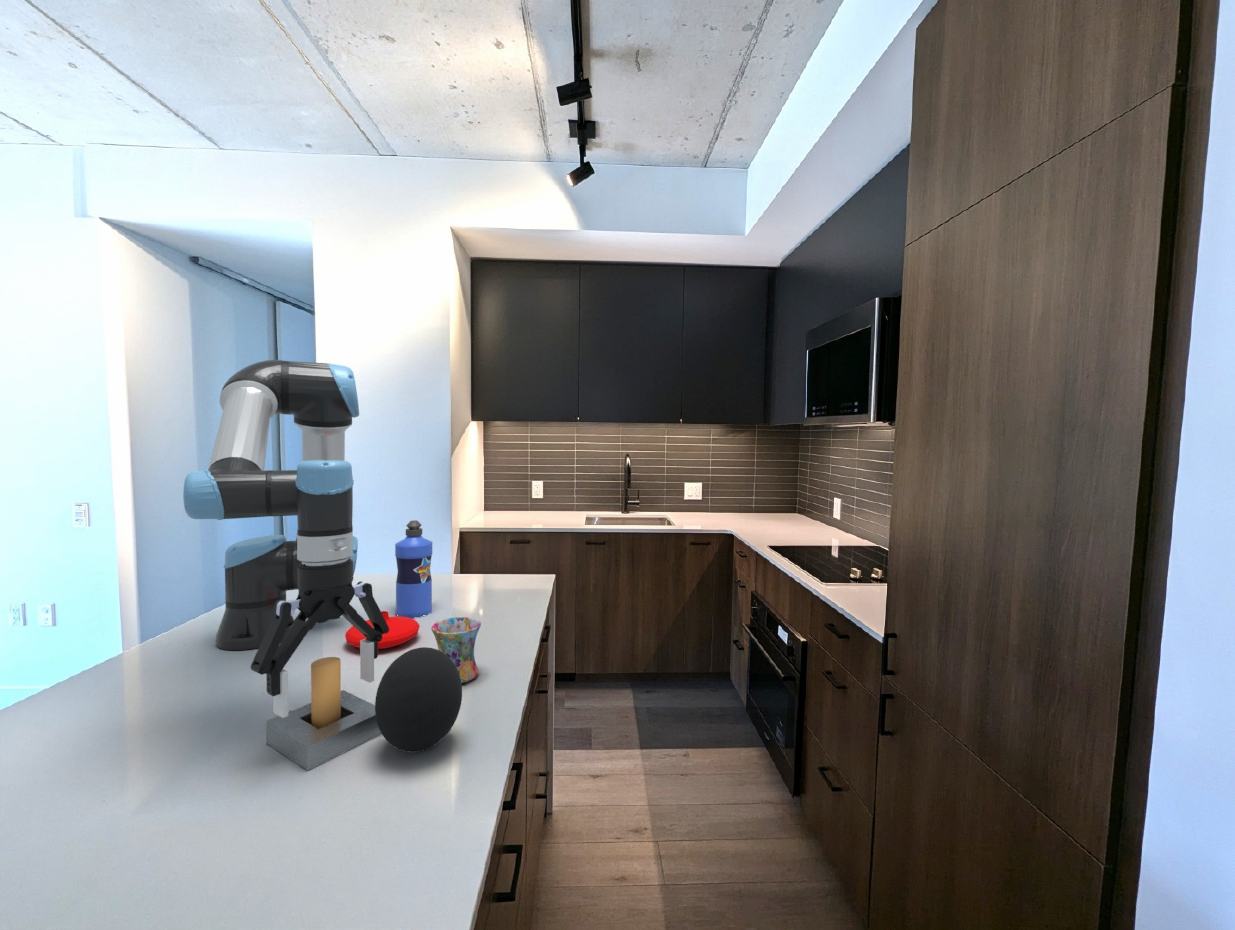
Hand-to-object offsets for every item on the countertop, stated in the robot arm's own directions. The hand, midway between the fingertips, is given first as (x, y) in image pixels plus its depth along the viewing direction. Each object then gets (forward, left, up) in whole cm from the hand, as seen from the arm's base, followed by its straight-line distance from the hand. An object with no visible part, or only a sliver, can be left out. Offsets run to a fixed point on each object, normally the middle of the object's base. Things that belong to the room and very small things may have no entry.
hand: (327, 696), depth 81 cm
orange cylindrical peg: (0, 0, -7) cm, 7 cm away
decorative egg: (+14, +7, -7) cm, 17 cm away
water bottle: (-40, +45, -7) cm, 61 cm away
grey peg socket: (0, 0, -7) cm, 7 cm away
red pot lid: (-28, +28, -7) cm, 40 cm away
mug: (-1, +26, -7) cm, 27 cm away
